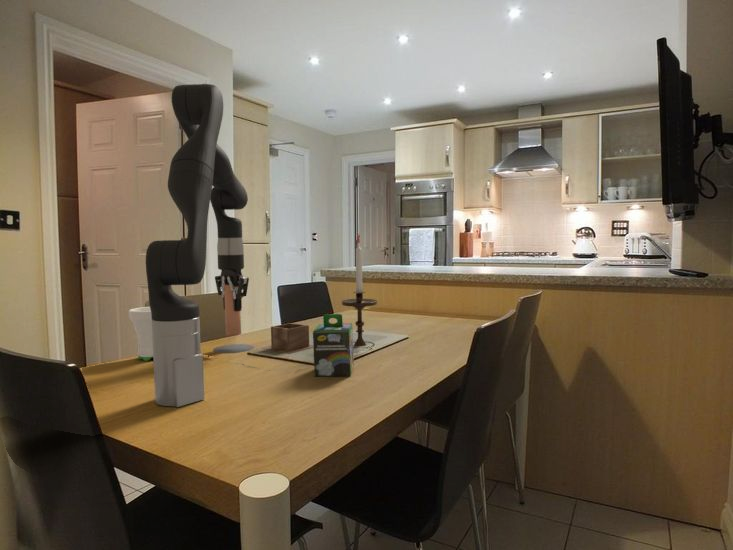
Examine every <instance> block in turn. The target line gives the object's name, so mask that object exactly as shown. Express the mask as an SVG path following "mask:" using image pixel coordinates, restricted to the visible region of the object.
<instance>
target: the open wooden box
mask: <svg viewBox="0 0 733 550" xmlns="http://www.w3.org/2000/svg"><path fill="white" fill-rule="evenodd" d="M270 338H271V339H270V341H271V342H270V343H271V346H267V347H262V348H261V349H263V350H268V351H271V352H273V351H274V352H278V353H282V354H286V355H287V354H288V355H290V354H291V355H292V354H294V353H295V354H296V353H298V352H303V351H305V350H306V351H307V350H311V349H313V344H310V325H307V324H301V323H293V322H288V323H284V324H278V325H273V326H270Z"/></svg>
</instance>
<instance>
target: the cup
mask: <svg viewBox="0 0 733 550" xmlns="http://www.w3.org/2000/svg"><path fill="white" fill-rule="evenodd" d="M128 319H129V320H130V321H131V323H132V325H133V329H134V330H135V331H134V332H135V333H136V339H137V346H138V348H137V358H138V360H143V361H145V362H148V361H151V359H152V358H153V340H152V317H151V309H150V306H141V307H136V308H130V309H129V310H128Z"/></svg>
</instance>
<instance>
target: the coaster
mask: <svg viewBox="0 0 733 550" xmlns="http://www.w3.org/2000/svg"><path fill="white" fill-rule="evenodd" d="M254 348H255V346H254V345H252V344H248V343H247V344H246V343H244V344H243V343H236V344H235V343H234V344H226V345H225V344H224V345H221V346H217V347H214V348H213V349H212V351H213V352H214V353H219V354H239V353H244V352H248V351H252V350H254Z"/></svg>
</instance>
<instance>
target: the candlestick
mask: <svg viewBox="0 0 733 550" xmlns="http://www.w3.org/2000/svg"><path fill="white" fill-rule="evenodd" d="M357 235H358V236H357V238H356V242H357V247H356V248H355V289H356V290H355V291H353V292H352V293H353V294H355V298H349V299H347V298H346V299H343V300H341V306H344V307H353V308H354V309H355V310H356V311H357V313H356V314H357V320H356V321H355V323H354V324H355V327H357V329H356V330H355V333H357V339H356V340H355V341H353V349H355V347H363V349H368V348H371V347H374V346H375V343H374V342H371V341H365V340H364V339H363V333H364V332H365V330H363V326H364V325H365V322H364V321H363V317H362V316H363V310H364V309H365V308H366V307H372V306H376V305H378V300H377V299H374V298H364V294H366V293H367V292H365V291H363V249H362V248H361V245H360V241H361V239H360V238H361V235H360V233H358V234H357ZM367 344H371V346H367ZM354 346H355V347H354ZM365 346H366V347H365Z"/></svg>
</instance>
